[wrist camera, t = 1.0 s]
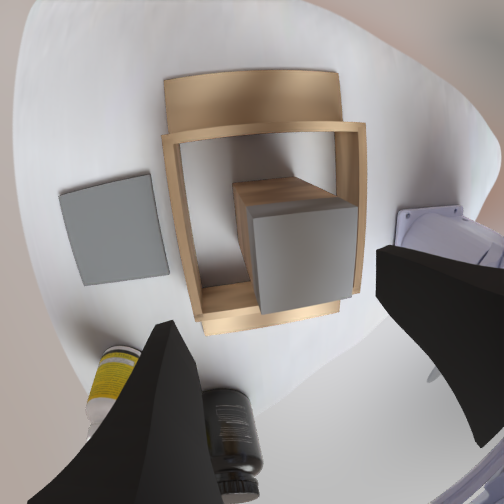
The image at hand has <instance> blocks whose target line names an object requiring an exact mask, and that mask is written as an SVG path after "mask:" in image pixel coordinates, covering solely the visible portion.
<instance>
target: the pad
mask: <svg viewBox="0 0 504 504" xmlns="http://www.w3.org/2000/svg"><path fill="white" fill-rule="evenodd" d="M58 197H59V201H60V206H61V210H62V215H63V219H64V223H65V226H66V230H67V234H68V238H69V241H70V245H71V248H72V251H73V254H74V258H75V261H76V264H77V267H78V270H79V273H80V276H81V279H82V281H83V284H84V286H89V285H97V284H104V283H112V282H120V281H127V280H135V279H142V278H149V277H157V276H164V275H169V273H170V271H169V267H168V263H167V258H166V254H165V249H164V245H163V240H162V235H161V230H160V225H159V220H158V215H157V209H156V204H155V198H154V192H153V186H152V180H151V174H148V175H143V176H138V177H133V178H128V179H124V180H119V181H114V182H110V183H106V184H102V185H97V186H93V187H89V188H85V189H82V190H78V191H74V192H70V193H67V194H63V195H60V196H58Z"/></svg>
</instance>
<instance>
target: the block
mask: <svg viewBox="0 0 504 504" xmlns="http://www.w3.org/2000/svg"><path fill="white" fill-rule="evenodd" d="M232 185H233V195H234V204H235V213H236V222H237V231H238V240H239V246H240V249H241V252H242V255H243V258H244V262H245V265H246V268H247V271H248V274H249V277H250V281H251V284H252V287H253V290H254V293H255V296H256V299H257V303H258V306H259V309H260V312H261V315H265V314H271V313H276V312H282V311H288V310H293V309H298V308H303V307H308V306H313V305H318V304H323V303H328V302H333V301H337V300H342V299H346V298H351V297H352V290H353V280H354V269H355V257H356V242H357V221H358V207H357V206H355V205H353V204H351V203H349V202H347V201H345V200H343V199H341V198H339V197H337V196H335V195H333V194H331V193H329V192H327V191H325V190H323V189H321V188H318V187H316V186H314V185H312V184H310V183H308V182H305V181H303V180H301V179H299V178H297V177H287V178H276V179H265V180H256V181H247V182H238V183H232Z"/></svg>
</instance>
